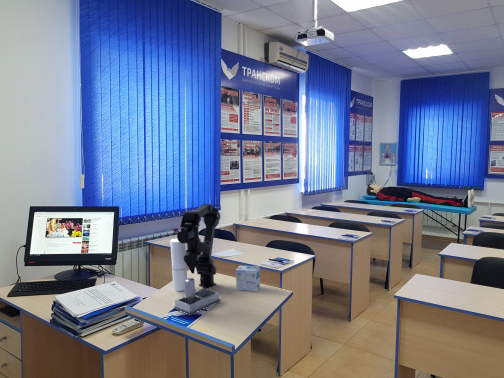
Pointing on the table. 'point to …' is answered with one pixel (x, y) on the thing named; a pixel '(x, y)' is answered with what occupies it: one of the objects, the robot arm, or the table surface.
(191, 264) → the robot arm
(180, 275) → the cylindrical container
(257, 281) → the light bulb box
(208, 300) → the gray divided tray
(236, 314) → the table surface
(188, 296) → the shiny gray cylinder
